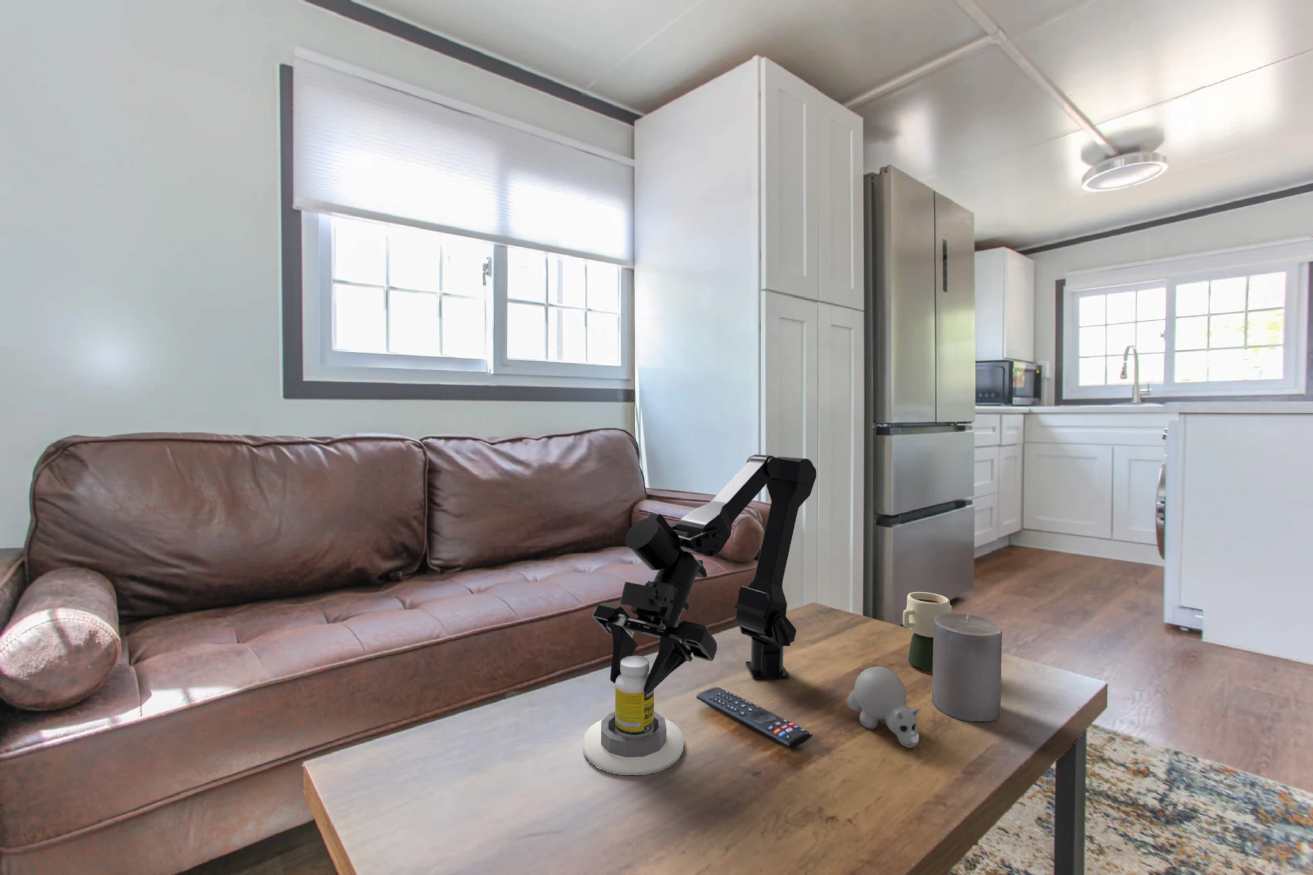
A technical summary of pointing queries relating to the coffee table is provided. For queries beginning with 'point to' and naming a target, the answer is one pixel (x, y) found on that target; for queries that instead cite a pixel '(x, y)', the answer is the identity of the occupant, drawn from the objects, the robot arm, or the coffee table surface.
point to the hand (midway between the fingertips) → (628, 687)
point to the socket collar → (633, 747)
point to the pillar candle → (967, 667)
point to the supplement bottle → (633, 699)
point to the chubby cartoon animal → (884, 704)
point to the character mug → (923, 625)
